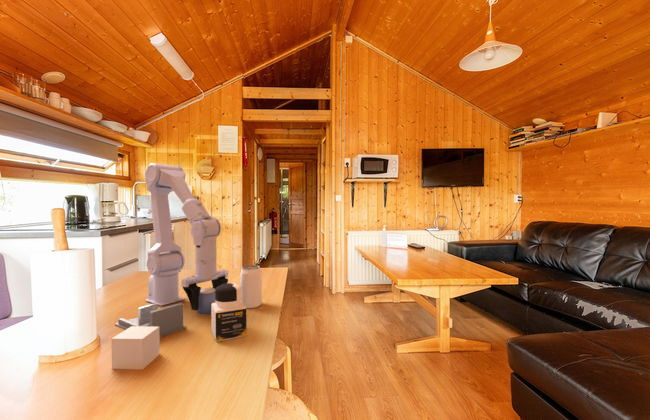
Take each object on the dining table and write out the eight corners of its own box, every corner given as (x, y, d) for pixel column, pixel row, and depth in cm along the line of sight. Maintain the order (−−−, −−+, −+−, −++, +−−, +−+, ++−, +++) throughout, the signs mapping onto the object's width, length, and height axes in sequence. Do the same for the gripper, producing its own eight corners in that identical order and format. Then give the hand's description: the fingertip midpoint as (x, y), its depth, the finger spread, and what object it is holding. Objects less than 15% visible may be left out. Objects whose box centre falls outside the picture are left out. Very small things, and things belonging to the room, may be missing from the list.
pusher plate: (138, 324, 80) (138, 307, 80) (155, 319, 84) (155, 303, 83) (140, 325, 79) (140, 308, 79) (157, 320, 83) (157, 303, 83)
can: (256, 309, 94) (256, 269, 94) (236, 308, 95) (236, 268, 95) (264, 302, 100) (264, 265, 100) (246, 301, 101) (245, 264, 101)
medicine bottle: (215, 342, 72) (215, 290, 71) (211, 331, 78) (211, 283, 78) (246, 336, 75) (246, 286, 75) (240, 326, 81) (240, 280, 81)
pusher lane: (115, 324, 82) (114, 300, 82) (150, 314, 89) (149, 292, 89) (150, 340, 73) (150, 313, 72) (186, 327, 80) (186, 303, 80)
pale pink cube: (131, 354, 66) (131, 326, 66) (159, 354, 66) (159, 326, 66) (111, 369, 60) (111, 338, 60) (142, 369, 60) (142, 338, 60)
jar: (193, 312, 91) (192, 290, 91) (208, 307, 96) (208, 286, 96) (204, 315, 89) (204, 293, 88) (219, 310, 93) (219, 289, 93)
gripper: (192, 265, 84) (192, 316, 84) (234, 257, 96) (235, 301, 96) (176, 262, 87) (177, 311, 88) (219, 255, 100) (219, 297, 100)
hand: (206, 305), depth 92 cm, fingers open, 7 cm apart
